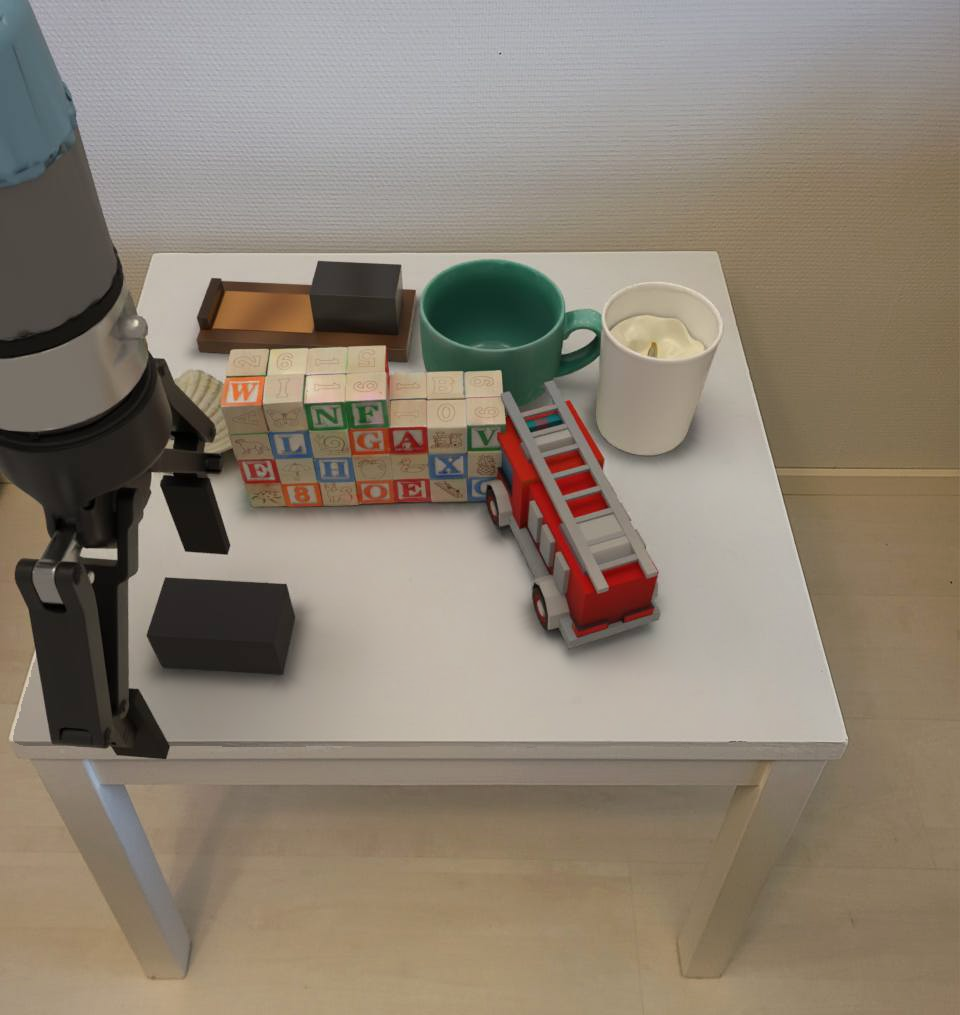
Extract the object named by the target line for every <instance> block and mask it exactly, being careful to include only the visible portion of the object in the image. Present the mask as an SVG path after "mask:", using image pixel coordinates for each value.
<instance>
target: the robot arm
mask: <svg viewBox="0 0 960 1015" xmlns="http://www.w3.org/2000/svg"><path fill="white" fill-rule="evenodd" d="M136 308H137V307H136V305H135V302H134V299H133V296H132V294H131V289H130V288H129V285H128V281H127V279H126V277H125V274H124V270H123V265H122V262H121V259H120V256H119V253H118V250H117V247H115V244H114V242H113V241H112V238H111V234H110V231H109V229H108V225H107V222H106V219H105V216H104V212H103V209H102V205H101V202H100V199H99V195H98V190H97V187H96V184H95V181H94V177H93V173H92V170H91V167H90V163H89V159H88V155H87V152H86V148H85V146H84V141H83V139H82V136H81V132H80V129H79V124H78V120H77V108H76V106H75V103H74V100H73V97H72V93H71V91H70V89H69V88H68V86H67V84H66V82H65V81H63V79H62V76H61V75H60V72H59V70H58V67H57V65H56V63H55V60H54V57H53V55H52V53H51V50H50V48H49V45H48V43H47V40H46V39H45V36H44V34H43V31H42V28H41V27H40V24H39V22H38V19H37V16H36V14H35V12H34V9H33V7H32V5H31V3H30V1H29V0H0V471H1V473H2V474H3V476H4V477H5V478H6V479H7V480H8V481H9V482H10V483H11V484H12V485H14V486H16V487H17V488H18V489H19V490H20V491H22V492H24V494H26V495H28V496H29V497H30V498H32V499H33V500H35V502H37V503H38V504H40V505H41V507H42V510H43V514H44V520H45V525H46V526H45V527H46V531H47V534H48V536H49V538H50V540H49V542H48V545H47V546H46V548H45V550H44V552H43V554H42V556H41V557H40V558H29V557H22V558H20V559H19V560H18V561H17V563H16V565H15V567H14V568H15V569H14V581H15V584H16V587H17V588H18V591H19V592H20V595H21V596H22V599H23V601H24V603H25V605H26V607H27V609H28V615H29V620H30V626H31V632H32V639H33V644H34V650H35V655H36V661H37V668H38V673H39V680H40V686H41V692H42V698H43V703H44V709H45V715H46V721H47V726H48V732H49V737H50V741H51V744H53V745H56V746H67V747H78V748H79V747H81V748H90V749H91V748H92V749H104V750H106V749H109V748H110V747H111V750H112V751H113V752H114V753H115V755H116V756H120V757H121V756H122V757H133V758H144V759H145V758H147V759H157V760H167V758H168V755H169V752H170V748H171V745H170V743H169V741H168V740H167V738H166V737H165V734H164V732H163V731H162V729H161V727H160V725H159V723H158V721H157V719H156V718H155V715H154V714H153V712H152V711H151V709H150V707H149V705H148V703H147V701H146V700H145V697H144V696H143V694H142V692H141V690H140V689H139V688H133V687H132V688H131V687H130V664H129V663H130V661H129V660H130V657H129V656H130V649H129V648H130V646H129V644H130V643H129V642H130V640H129V639H130V638H129V579H130V578H132V577H133V576H135V575H137V573H138V572H139V567H140V566H139V525H140V523H141V521H142V520H143V519H144V510H145V508H146V507H147V505H148V503H149V500H150V498H151V495H152V490H151V484H152V476H153V473H165V474H163V475H162V478H161V481H160V483H159V486H160V489H161V492H162V495H163V497H164V500H165V503H166V505H167V508H168V511H169V513H170V515H171V518H172V521H173V524H174V526H175V528H176V531H177V535H178V537H179V540H180V542H181V544H182V547H183V550H184V552H185V553H197V554H209V555H210V554H212V555H225V556H228V555H229V552H230V549H231V543H230V542H231V541H230V539H229V536H228V533H227V529H226V526H225V523H224V520H223V517H222V513H221V510H220V507H219V503H218V500H217V497H216V494H215V491H214V488H213V485H212V481H211V478H210V477H208V475H221V474H222V471H223V469H224V468H223V467H224V457H223V455H222V453H205V452H204V448H205V443H213V442H214V439H215V436H216V428H215V424H214V423H213V422H212V421H211V420H210V419H209V418H208V416H207V415H206V414H205V413H204V412H203V411H202V410H201V409H200V408H199V407H198V406H197V405H196V404H195V403H194V402H193V401H192V400H191V399H190V398H189V397H188V396H187V395H186V394H185V393H184V392H183V391H182V390H181V389H180V388H179V387H178V386H177V385H176V384H175V382H174V380H175V379H174V377H173V375H172V372H171V369H170V367H169V364H168V363H167V361H166V359H165V358H163V357H161V358H160V357H153V355H152V353H151V351H150V350H149V344H148V341H147V336H148V335H149V325H148V322H147V320H146V319H145V318H144V317H143V316H141V315H139V313H138V311H137V309H136ZM169 439H170V440H174V444H173V449H168V448H165V447H166V446H167V443H168V441H169ZM168 473H169V474H168ZM170 474H172V475H170ZM83 549H92V550H93V549H95V550H96V549H97V550H98V549H101V550H102V549H103V550H104V549H105V550H115V549H116V559H111V558H110V559H108V558H99V557H98V558H96V557H83V556H81V553H82V551H83Z"/></svg>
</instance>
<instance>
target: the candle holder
mask: <svg viewBox="0 0 960 1015" xmlns="http://www.w3.org/2000/svg"><path fill="white" fill-rule="evenodd" d="M601 323H602V328H601V343H600V356H599V357H598V358H599V359H598V373H597V374H598V376H597V388H596V391H597V392H596V405H595V406H596V408H595V419H596V425H597V428H598V430H599V432H600V434H601V435H602V437H603V438H604V439H605V440H606V441H607V442H608V443H609V444H610V445H612V446H613V447H614V448H617V449H618V450H620V451H622V452H626V453H629V454H632V455H637V456H657V455H661V454H666V453H667V452H670V451H672V450H674V449H675V448H677V447H678V446H680V444H681V443H682V442H683V441H684V440H685V438H686V437H687V434H688V432H689V430H690V427H691V424H692V421H693V419H694V416H695V413H696V410H697V407H698V404H699V402H700V400H701V399H700V398H701V396H702V394H703V390H704V387H705V384H706V381H707V378H708V375H709V372H710V369H711V367H712V364H713V361H714V358H715V355H716V352H717V350H718V346H719V344H720V343H721V340H722V338H723V334H724V328H725V326H724V320H723V317H722V315H721V312H720V311H719V309H718V308H717V306H716V305H715V304H714V303H713V302H712V301H711V300H710V299H708V297H706V296H705V295H703V294H702V293H700V292H698V291H697V290H694V289H692V288H690V287H687V286H684V285H681V284H677V283H673V282H668V281H644V282H638V283H634V284H630V285H627V286H624V287H622V288H621V289H618V291H616V292H614V293H613V294H612V295H610V297H609V298H608V299H607V300H606V302H605V303H604V305H603V308H602V311H601Z"/></svg>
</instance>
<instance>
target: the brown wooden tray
mask: <svg viewBox="0 0 960 1015" xmlns="http://www.w3.org/2000/svg"><path fill="white" fill-rule="evenodd" d="M315 267H316V268H315V270H314V274H313V277H312V282H311V284H302V283H301V284H299V283H281V282H280V283H278V282H277V283H276V282H259V281H258V282H255V281H235V280H223V279H222V278H220V277H211V278H210V281H209V284H208V286H207V289H206V292H205V294H204V297H203V300H202V302H201V305H200V307H199V311H198V313H197V316H196V319H197V323H198V327H199V332H198V335H197V337H196V343H197V347H198V350H199V352H200V353H217V354H219V353H220V354H230V351H231V350H234V349H269V350H272V349H298V348H308V349H312V348H331V347H354V346H386V349H387V358H388V362H404V363H405V362H408V358H409V351H410V346H411V339H412V332H413V325H414V320H415V314H416V306H417V289H408V288H404V284H403V271H402V270H403V269H402V264H400V263H399V264H398V263H378V262H376V263H375V262H355V261H354V262H353V261H333V260H317V263H316V266H315Z"/></svg>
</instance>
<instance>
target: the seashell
mask: <svg viewBox="0 0 960 1015" xmlns="http://www.w3.org/2000/svg"><path fill="white" fill-rule="evenodd" d="M173 380H174V382H175V384H176V385H177V386H178V387H179V388H180V389H181V390H182V391H183V392H184V393H185V394H186V395H187V396H188V397H189V398H190V399H191V400H192V401H193V402H194V403H195V404H196V405H197V406H198V407H199V408H200V409H201V410H202V411H203V412H204V413H205V414H206V415H207V416H208V418H209V419H210V420H211V421H212V422H213V423H214V424H215V428H216V436H215V439H214V442H213V443H205V448H204V452H205V453H219V454H222V453H225V452H227V451H229V450H231V449H232V450H233V447H232V445H231V441H230V438H229V435H228V429H227V426H226V422H225V419H224V416H223V413H222V410H221V399H222V394H223V388H224V382H223V381H221V380H219V379H217V378H216V377H215V376H213V375H212V374H209V373H206V372H205V371H203V370H202V369H191V368H189V369H186V370H185V371H183V372H182V373H181V375H180V376H179V377H175V379H173ZM173 444H174V440H170V439H169V441H168V443H167V446H166V447H165V448H168V449H173Z"/></svg>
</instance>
